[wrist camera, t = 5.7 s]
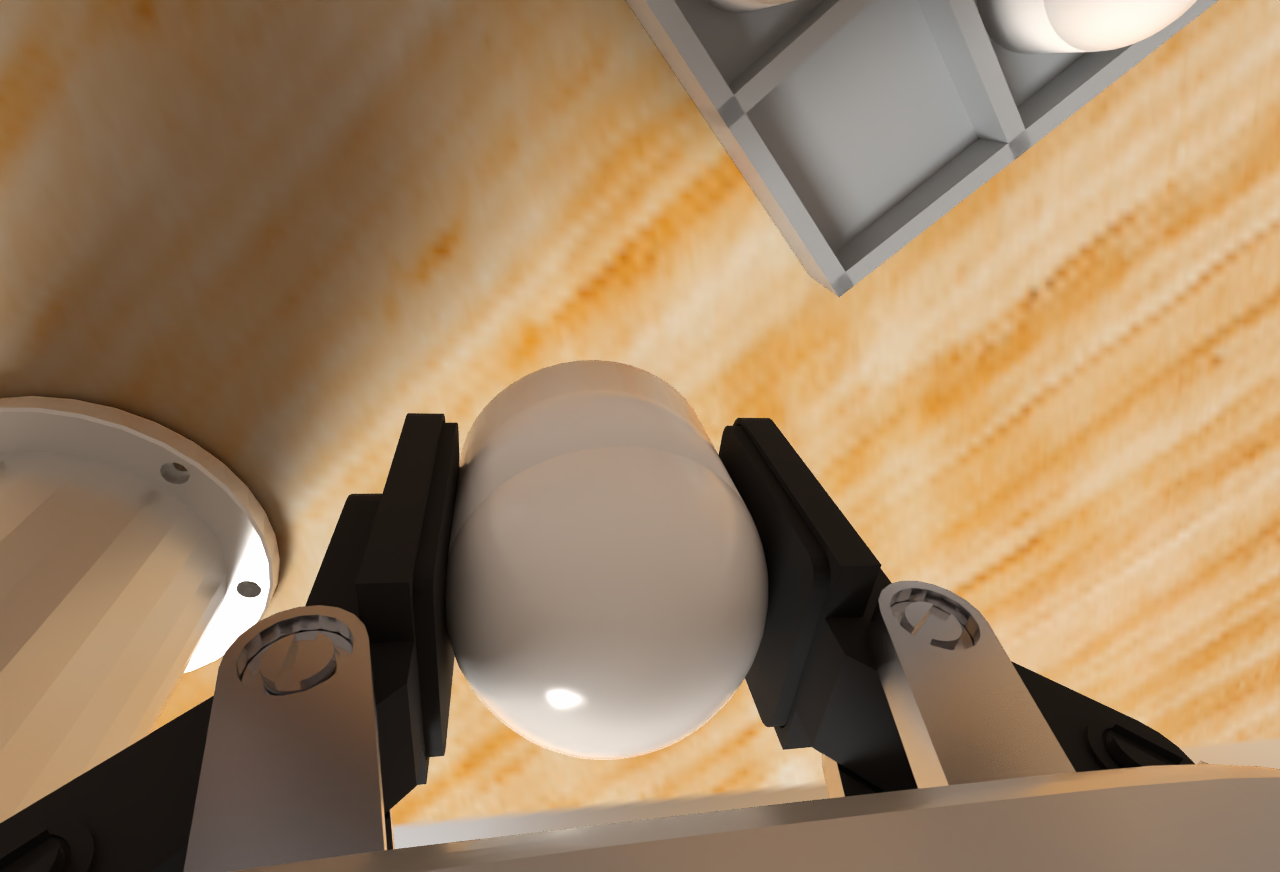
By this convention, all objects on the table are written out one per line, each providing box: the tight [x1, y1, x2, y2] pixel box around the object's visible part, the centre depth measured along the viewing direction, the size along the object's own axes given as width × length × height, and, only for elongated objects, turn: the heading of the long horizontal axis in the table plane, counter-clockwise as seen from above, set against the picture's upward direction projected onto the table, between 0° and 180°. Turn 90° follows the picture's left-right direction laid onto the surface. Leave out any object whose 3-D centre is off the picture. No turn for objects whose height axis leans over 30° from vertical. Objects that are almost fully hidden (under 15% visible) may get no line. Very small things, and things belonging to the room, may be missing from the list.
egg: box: [446, 360, 768, 760], centre depth 9 cm, size 4×4×5 cm
